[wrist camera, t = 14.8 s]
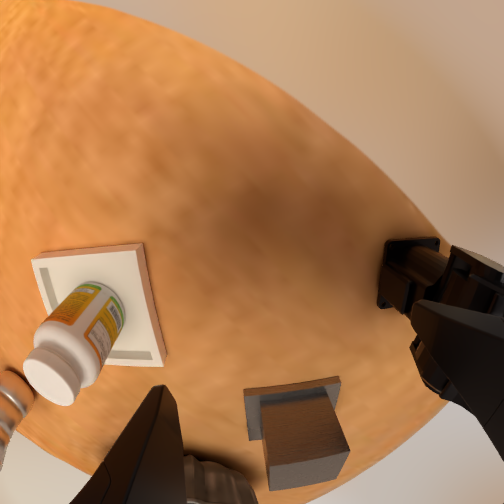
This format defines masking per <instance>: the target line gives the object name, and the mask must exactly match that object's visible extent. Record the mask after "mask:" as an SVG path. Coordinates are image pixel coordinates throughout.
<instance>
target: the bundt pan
mask: <svg viewBox="0 0 504 504" xmlns="http://www.w3.org/2000/svg"><path fill="white" fill-rule="evenodd" d="M184 471H185V484H186V495H187V504H258V501H257V498H256V495H255V492H254V490H253V489H252V487H251V486H250V485H249V483H248V481H247V479H246V478H245V477H244V476H243V475H242V474H241V473H240V472H238V471H235V470H233V469H227V468H226V467H224V466H223V465H221V464H219V463H216V462H211V461H201V462H199V461H198V460H197V459H196V458H195V457H194V456H192V455H188V456H185V457H184Z"/></svg>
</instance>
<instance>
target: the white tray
mask: <svg viewBox="0 0 504 504" xmlns="http://www.w3.org/2000/svg"><path fill="white" fill-rule="evenodd" d="M31 262H32V266H33V270H34V273H35V277H36V280H37V284H38V287H39V290H40V293H41V296H42V299H43V302H44V305H45V308H46V311H47V313H48V316H49V315H50V314H51V313H52V312H53V311H54V310H55V309H56V308H57V307H58V306H59V305H60V304H61V302H62V301H63V300H64V299H65V298H66V297H67V296H68V295H69V294H70V293H71V292H72V291H73V290H74V289H75V288H77V287H78V286H79V285H81V284H83V283H87V282H93V283H98V284H101V285H103V286H105V287H107V288H108V289H110V290H111V291H112V292H113V293H114V294H115V295H116V296H117V297H118V299H119V300H120V302H121V304H122V306H123V309H124V313H125V322H124V326H123V328H122V330H121V332H120V334H119V336H118V338H117V340H116V341H115V343H114V345H113V347H112V349H111V351H110V353H109V355H108V357H107V359H106V361H105V363H104V364H107V365H122V366H144V367H164V364H165V360H166V357H167V352H166V349H165V345H164V341H163V337H162V334H161V330H160V326H159V322H158V317H157V313H156V309H155V305H154V300H153V295H152V291H151V286H150V281H149V276H148V271H147V265H146V260H145V254H144V248H143V243H137V244H126V245H115V246H104V247H94V248H84V249H74V250H64V251H54V252H45V253H41V254H39V255H37V256H36V257H34V258H33V259H31Z"/></svg>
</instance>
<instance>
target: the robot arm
mask: <svg viewBox="0 0 504 504" xmlns="http://www.w3.org/2000/svg"><path fill="white" fill-rule="evenodd" d="M435 242H436V243H435ZM391 244H392V247H391V248H390V245H391ZM439 247H440V239H439V238H437V237H424V238H408V239H393V240H388V241H387V242H386V243H385V249H384V259H383V265H382V269H381V276H380V283H379V290H378V291H379V295H378V301H377V306H378V307H379V308H380V309H386V308H391V307H394V308H395V309H396V310H398V311H399V312H400V313H401V314H402V315H403V314H405V315H406V316H407V317H408V318H409V319H410V320H411V325H412V327H413V329H414V330H415V332H416V333H417V336H416V338H415V340H414V341H412V343H411V345H410V347H409V348H410V350H411V353H412V355H413V358H414V360H415V363H416V366H417V368H418V371H419V374H420V376H421V379H422V381H423V382H424V384H425V386H426V387H428V388H429V389H430V390H432V391H433V392H435V393H436V394H439V397H440V398H441V399H445V400H448V401H452V402H454V403H456V404H458V405H460V406H462V407H463V408H465V409H466V410H468V411H469V412H470V413H472V414H473V415H474V416H475V417H476V418H477V420H478V421H479V423H480V424H481V425H482V427H483V429H484V430H485V432H486V433H487V435H488V437H489V438H490V440H491V441H492V443H493V445H494V446H495V448H496V450H497V451H498V453H499V455H500V456H501V458H502V460H503V461H504V267H503V266H502V265H500V264H498V263H496V262H494V261H492V260H490V259H488V258H486V257H484V256H482V255H479V254H477V253H474V252H471V251H468V250H465V249H463V248H459V247H456V246H454V245H452V246H451V250H450V252H451V253H450V257H449V258H447V257H445V256H443V255H442V254H440V253H439ZM383 302H384V303H383ZM382 303H383V304H382ZM381 304H382V305H381ZM69 504H187V495H186V484H185V471H184V455H183V442H182V435H181V429H180V423H179V416H178V410H177V404H176V401H175V399H174V397H173V396H172V394H171V393H170V391H169V390H168V388H167V387H166V386H165V385H157V386H153V387H152V388H151V390H150V391H149V393H148V394H147V396H146V397H145V399H144V400H143V402H142V403H141V405H140V406H139V408H138V409H137V411H136V412H135V414H134V415H133V416H132V418H131V419H130V421H129V422H128V424H127V425H126V427H125V428H124V430H123V431H122V433H121V434H120V436H119V437H118V439H117V440H116V442H115V443H114V445H113V446H112V448H111V449H110V451H109V452H108V454H107V455H106V457H105V458H104V461H102V462H101V464H100V465H99V467H98V468H97V470H96V471H95V473H94V474H93V475H92V477H91V478H90V480H89V481H88V482H87V483H86V485H85V486H84V487H83V488H82V490H81V491H80V492H79V493H78V494H77V495H76V497H75V498H74V499H73V500H72V501H71V502H70V503H69ZM503 504H504V503H503Z"/></svg>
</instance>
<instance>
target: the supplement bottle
mask: <svg viewBox="0 0 504 504" xmlns="http://www.w3.org/2000/svg"><path fill="white" fill-rule="evenodd" d="M124 322H125V313H124V309H123V306H122V304H121V302H120V300H119V299H118V297H117V296H116V295H115V294H114V293H113V292H112V291H111V290H110V289H108V288H107V287H105V286H103V285H101V284H98V283H93V282H87V283H83V284H81V285H79V286H78V287H77V288H75V289H74V290H73V291H72V292H71V293H70V294H69V295H68V296H67V297H66V298H65V299H64V300H63V301H62V302H61V304H60V305H59V306H58V307H57V308H56V309H55V310H54V311H53V312H52V313H51V314H50V315H49V316H48V317H47V318H46V319H45V321H44V322H43V323H42V324H41V325H40V326H39V328H38V329H37V330H36V332H35V335H34V350H32V351H31V352H30V354H29V355H28V357H27V358H26V360H25V361H24V363H23V370H24V373H25V376H26V378H27V379H28V381H29V383H30V384H31V385H32V386H33V388H34V389H35V390H36V391H37V392H38V393H40V394H41V395H42V396H43V397H45V398H46V399H48V400H49V401H51V402H53V403H55V404H58V405H62V406H69V405H71V404H72V403H73V402H74V401H75V399H76V397H77V395H78V394H79V392H80V388H85V387H88V386H90V385H92V384H93V383H94V382H95V381H96V379H97V377H98V376H99V374H100V371H101V369H102V367H103V365H104V363H105V361H106V359H107V357H108V355H109V353H110V351H111V349H112V347H113V345H114V343H115V341H116V340H117V338H118V336H119V334H120V332H121V330H122V328H123V326H124Z"/></svg>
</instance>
